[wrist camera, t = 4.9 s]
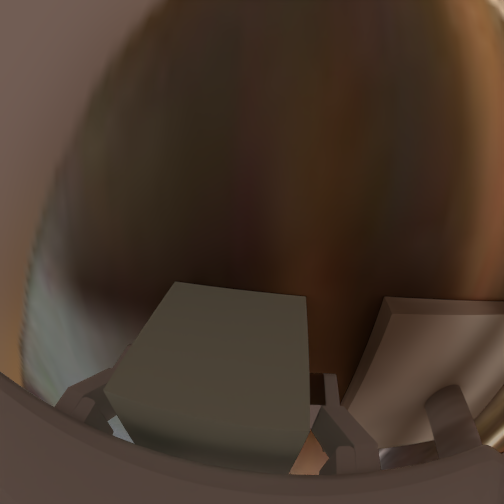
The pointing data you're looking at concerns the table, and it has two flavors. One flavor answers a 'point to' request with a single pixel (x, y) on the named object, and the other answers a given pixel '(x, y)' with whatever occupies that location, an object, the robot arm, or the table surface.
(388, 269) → the table surface
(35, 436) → the robot arm
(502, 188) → the table surface
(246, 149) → the table surface
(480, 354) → the post stand
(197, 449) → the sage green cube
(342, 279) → the table surface
